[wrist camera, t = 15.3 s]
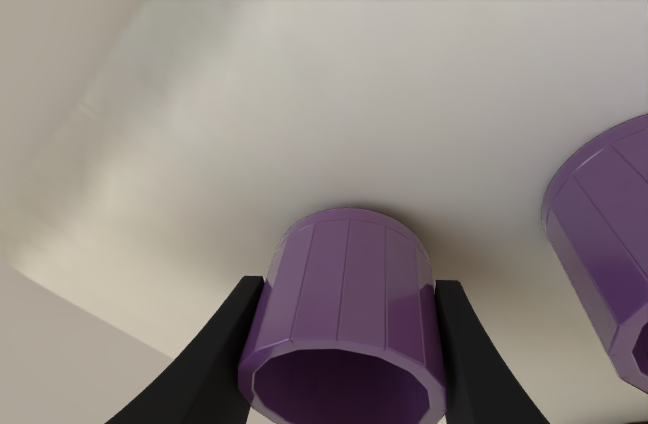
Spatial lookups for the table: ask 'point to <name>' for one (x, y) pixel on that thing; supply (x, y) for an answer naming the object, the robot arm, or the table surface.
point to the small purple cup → (607, 240)
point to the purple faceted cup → (346, 326)
